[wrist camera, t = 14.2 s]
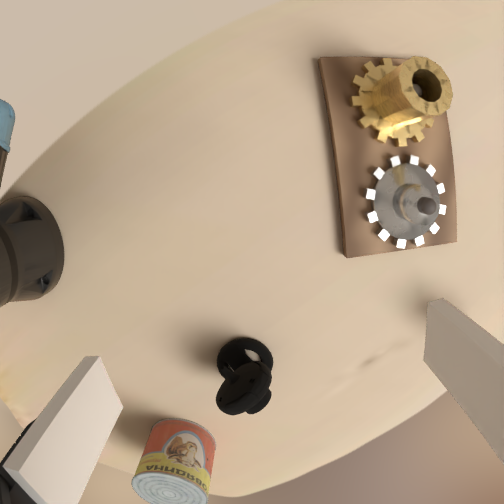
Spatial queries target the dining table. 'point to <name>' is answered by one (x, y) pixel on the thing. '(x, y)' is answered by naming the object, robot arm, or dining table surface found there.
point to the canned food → (176, 464)
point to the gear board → (380, 162)
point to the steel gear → (403, 200)
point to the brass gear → (400, 98)
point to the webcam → (244, 377)
